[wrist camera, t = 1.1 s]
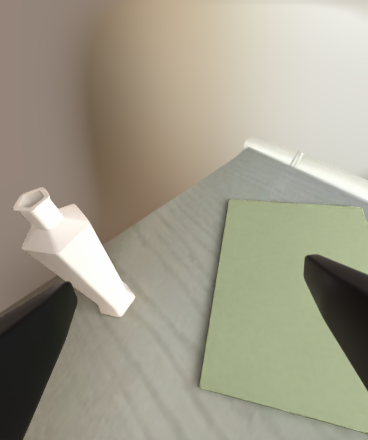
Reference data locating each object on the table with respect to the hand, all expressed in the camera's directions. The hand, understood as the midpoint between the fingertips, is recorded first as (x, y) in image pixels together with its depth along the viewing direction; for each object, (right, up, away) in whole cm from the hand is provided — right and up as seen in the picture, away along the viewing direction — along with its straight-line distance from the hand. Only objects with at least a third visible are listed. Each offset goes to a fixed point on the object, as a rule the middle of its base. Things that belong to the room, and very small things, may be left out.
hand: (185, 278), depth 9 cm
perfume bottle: (-7, -6, +17) cm, 19 cm away
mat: (+11, -4, +15) cm, 19 cm away
